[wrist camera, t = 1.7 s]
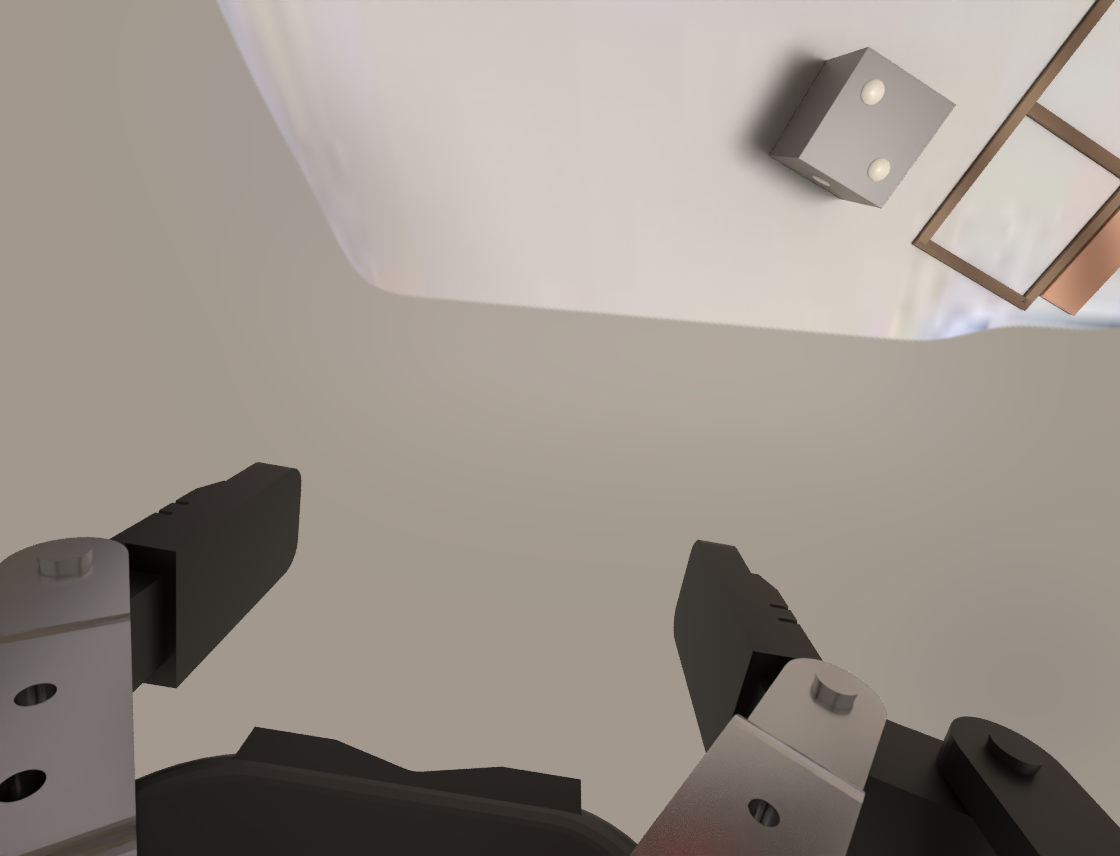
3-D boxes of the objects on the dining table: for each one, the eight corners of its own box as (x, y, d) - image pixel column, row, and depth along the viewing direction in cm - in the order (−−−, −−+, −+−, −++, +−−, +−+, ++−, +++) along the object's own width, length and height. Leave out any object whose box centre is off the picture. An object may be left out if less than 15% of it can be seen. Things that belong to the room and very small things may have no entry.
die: (826, 60, 30) (869, 46, 25) (902, 110, 31) (958, 105, 26) (767, 156, 32) (798, 159, 27) (841, 200, 33) (882, 210, 28)
